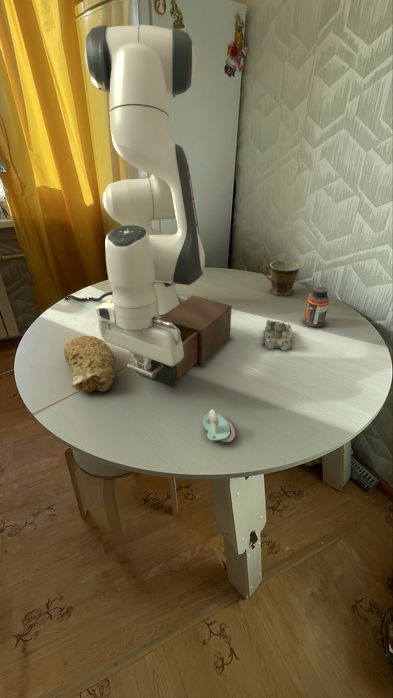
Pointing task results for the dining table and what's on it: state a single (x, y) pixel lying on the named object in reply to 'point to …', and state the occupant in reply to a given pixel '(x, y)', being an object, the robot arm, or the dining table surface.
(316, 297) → the supplement bottle
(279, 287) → the ceramic cup
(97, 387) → the sponge
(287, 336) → the egg carton
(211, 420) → the pacifier
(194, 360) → the drawer
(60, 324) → the dining table surface
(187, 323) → the cabinet
